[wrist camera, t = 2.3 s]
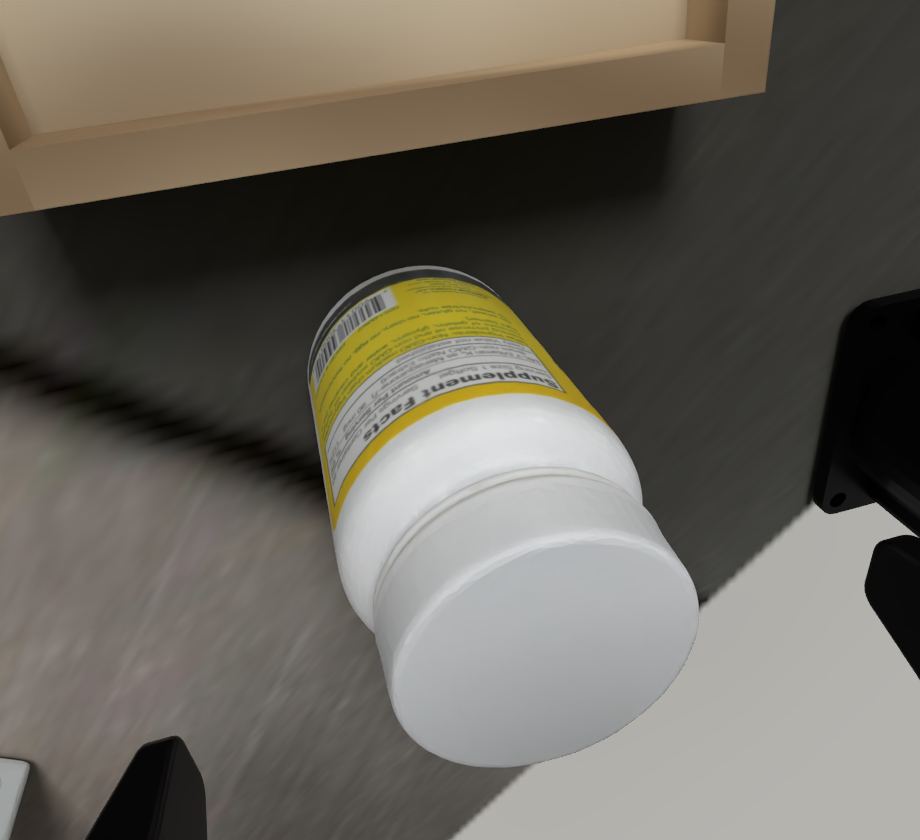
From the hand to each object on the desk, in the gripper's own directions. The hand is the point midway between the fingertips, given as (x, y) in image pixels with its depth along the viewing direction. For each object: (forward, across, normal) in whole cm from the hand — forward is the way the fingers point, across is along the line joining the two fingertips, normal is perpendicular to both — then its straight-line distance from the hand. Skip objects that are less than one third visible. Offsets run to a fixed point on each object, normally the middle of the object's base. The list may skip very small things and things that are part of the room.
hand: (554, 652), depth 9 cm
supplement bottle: (+8, 0, 0) cm, 8 cm away
